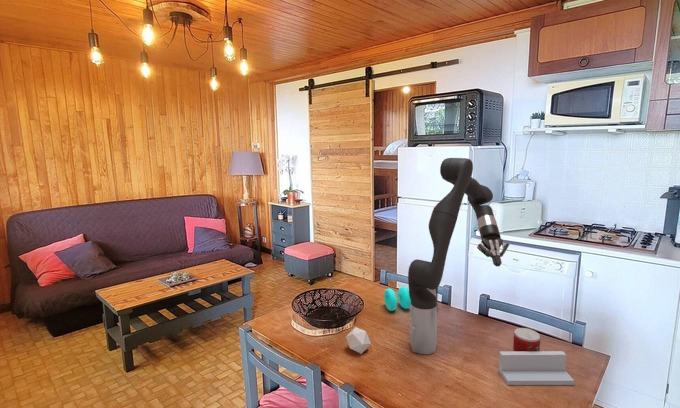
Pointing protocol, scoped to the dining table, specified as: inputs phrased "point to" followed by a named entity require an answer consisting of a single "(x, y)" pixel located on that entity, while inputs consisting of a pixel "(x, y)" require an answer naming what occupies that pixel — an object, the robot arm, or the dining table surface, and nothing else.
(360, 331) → the die
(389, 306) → the pair of cyan discs
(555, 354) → the stop board
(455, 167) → the robot arm
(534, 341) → the canned food
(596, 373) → the dining table surface
